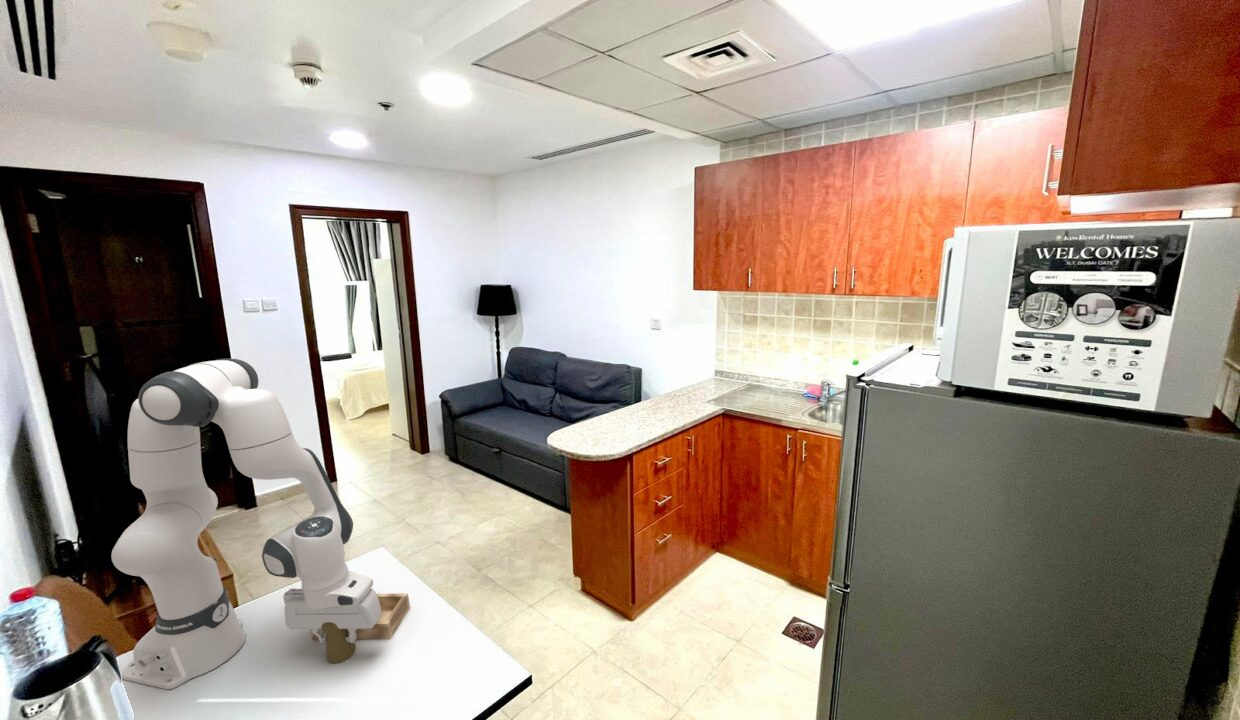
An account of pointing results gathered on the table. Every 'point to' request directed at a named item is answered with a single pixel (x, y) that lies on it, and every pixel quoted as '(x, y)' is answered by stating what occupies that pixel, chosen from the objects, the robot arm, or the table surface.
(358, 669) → the table surface
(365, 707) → the table surface
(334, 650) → the cork
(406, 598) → the caddy
